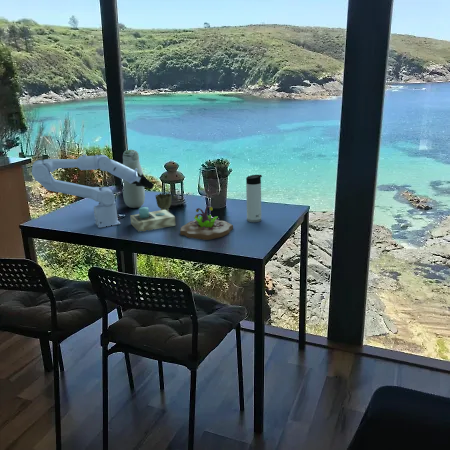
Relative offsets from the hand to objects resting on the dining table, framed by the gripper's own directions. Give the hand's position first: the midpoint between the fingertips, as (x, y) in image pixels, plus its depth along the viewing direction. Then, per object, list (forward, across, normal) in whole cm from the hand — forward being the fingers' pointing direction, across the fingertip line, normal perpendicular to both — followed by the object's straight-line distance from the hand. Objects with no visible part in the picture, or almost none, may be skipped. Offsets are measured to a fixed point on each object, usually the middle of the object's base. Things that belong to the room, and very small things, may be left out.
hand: (150, 185), depth 213 cm
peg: (+1, -9, +13) cm, 16 cm away
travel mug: (+42, -24, -6) cm, 48 cm away
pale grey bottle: (+4, +22, +13) cm, 25 cm away
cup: (+14, +8, +8) cm, 18 cm away
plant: (+22, -26, +8) cm, 35 cm away
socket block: (+6, -8, +15) cm, 18 cm away
